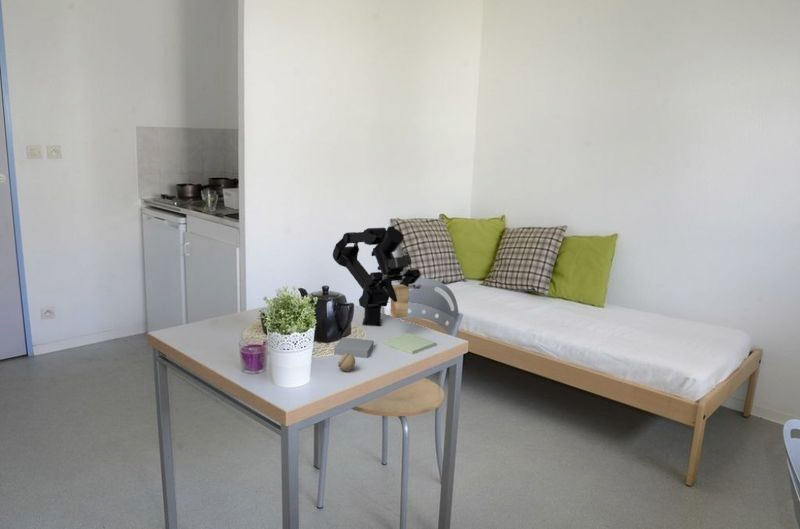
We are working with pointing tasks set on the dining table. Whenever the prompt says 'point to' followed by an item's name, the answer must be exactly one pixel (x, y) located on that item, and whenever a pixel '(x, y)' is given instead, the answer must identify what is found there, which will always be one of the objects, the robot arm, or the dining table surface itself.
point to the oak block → (400, 301)
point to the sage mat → (409, 343)
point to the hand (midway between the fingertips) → (401, 300)
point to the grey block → (354, 347)
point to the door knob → (346, 362)
